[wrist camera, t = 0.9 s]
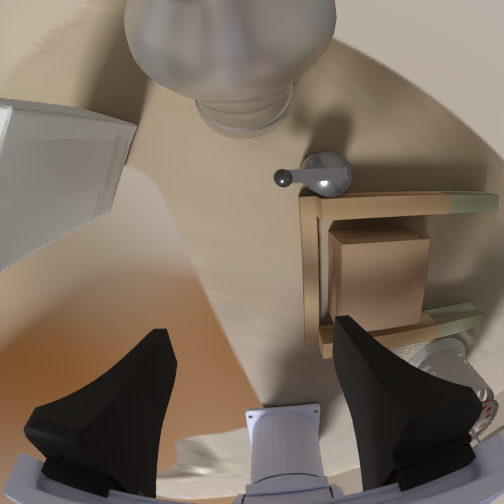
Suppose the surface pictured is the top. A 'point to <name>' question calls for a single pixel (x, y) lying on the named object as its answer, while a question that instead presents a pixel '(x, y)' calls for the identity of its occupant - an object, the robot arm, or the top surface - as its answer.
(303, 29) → the silver metal bottle
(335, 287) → the box
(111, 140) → the skincare box
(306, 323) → the bay
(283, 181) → the crank handle cylinder
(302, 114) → the top surface
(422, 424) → the robot arm
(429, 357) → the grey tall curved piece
